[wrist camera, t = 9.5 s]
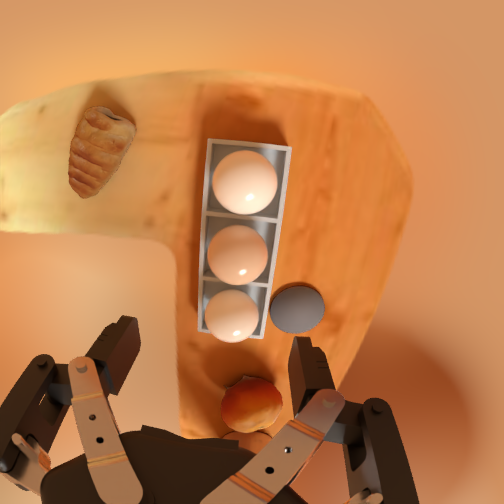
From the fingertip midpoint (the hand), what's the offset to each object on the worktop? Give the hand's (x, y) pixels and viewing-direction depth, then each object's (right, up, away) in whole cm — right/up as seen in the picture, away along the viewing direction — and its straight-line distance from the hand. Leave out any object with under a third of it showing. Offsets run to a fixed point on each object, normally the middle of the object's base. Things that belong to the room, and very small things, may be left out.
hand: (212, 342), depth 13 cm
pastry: (-13, +15, +11) cm, 23 cm away
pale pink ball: (+1, +4, +11) cm, 12 cm away
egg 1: (+1, +10, +8) cm, 13 cm away
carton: (+1, +5, +14) cm, 15 cm away
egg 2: (0, -2, +13) cm, 13 cm away
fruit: (+2, -14, +22) cm, 26 cm away
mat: (+7, -2, +17) cm, 18 cm away
